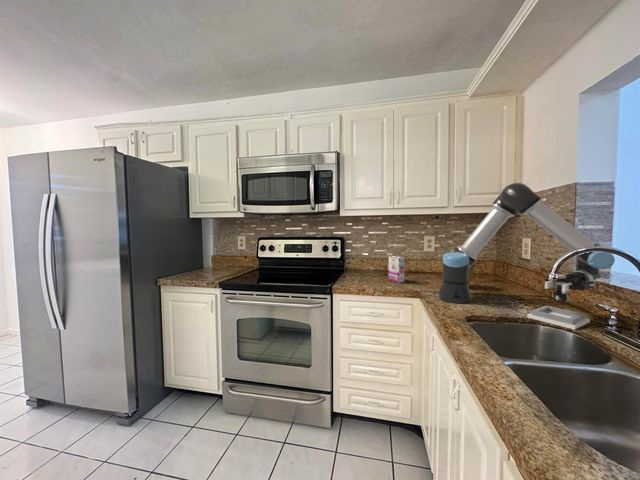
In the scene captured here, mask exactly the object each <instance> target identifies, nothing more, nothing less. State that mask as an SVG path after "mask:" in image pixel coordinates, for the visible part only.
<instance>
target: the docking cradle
mask: <svg viewBox="0 0 640 480" xmlns="http://www.w3.org/2000/svg"><path fill="white" fill-rule="evenodd" d="M526 317H527V318H528V319H531V320H536V321H539V322H544V323H548V324H551V325H555V326H559V327H563V328H567V329H571V330H577V329H579V328H581V327H583V326H585V325H587V324H589V323H590V322H591V319H590V318H587V314H586V313H583V312H582V313H581V312H577V311H574V310H573V311H572V310H568V309H562V308H558V307H554V306H550V305H544V306H541V307H539V308H535V309H532V310H531V312H530V313H527V316H526Z"/></svg>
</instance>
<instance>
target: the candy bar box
mask: <svg viewBox="0 0 640 480" xmlns="http://www.w3.org/2000/svg"><path fill="white" fill-rule="evenodd" d="M405 260H406V257H403V256H397V255H390V256H388V268H387V269H388V273H387V275H388V276H387V277H388V281H391V282H394V283H398V284H403V283H405V268H406V267H405V265H406V261H405Z"/></svg>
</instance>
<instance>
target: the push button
mask: <svg viewBox="0 0 640 480" xmlns="http://www.w3.org/2000/svg"><path fill="white" fill-rule="evenodd" d="M558 275H559V278H558V280H556V281H553V280H552V281H553V282H555V283H556V286H555V292H553V293H551V295H552V296H551V297H552V298H554V300H557V301H560V302H569V294H567V292H563V284H565V283H566V282H568V279H569V278H568V277H566V275H567V274H559V273H558Z"/></svg>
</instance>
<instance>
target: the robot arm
mask: <svg viewBox="0 0 640 480" xmlns="http://www.w3.org/2000/svg"><path fill="white" fill-rule="evenodd" d="M542 201H543V199H542V198H541V197H540V196H539V195H538V194H537V193H536V192H534V190H532V189H531V188H530V187H529V186H527V185H526V184H524V183H520V182H513V183H511V184H509V185H506V186H505V187H504V188H503V189H502V190H501V192H500V193H499V195H498V196H497V197H496V199H494V201H493V202H492V203H491V207H492V208H491V210H490V211H489V212H488V213H487V214H486V216H485V217H484V218H483V219H482V220H481V222H480V223H479V224H478V225H477V226H476V228H475V229H474V230H473V231H472V232H471V234H470V235H469V236H468V237H467V239H466V240H465V241H464V243H463V244H461V245H458V246H456V248H455V249H454V250H453V251H450V252H446V253H444V254H443V256H442V257H443V258H442V282H441V286H440V288H439V292H438V296H437V298H438V299H439V300H441V301H444V302H448V303H453V304H468V303H471V302H472V295H471V291H470V288H469V284H468V271H469V268H470V267H471V266H472V265H473V264H474V262H475V263H476V262H477V260H478V258H477V256H478V254H479V253H480V252H481V250H482V249H484V247H485V246H486V245H487V243H489V241H490V240H492V238H493V237H494V236H495V234H496V233H497V232H498V231H499V230H500V229H501V228H502V227H503V226H504V224H505V223H506V222H507V220H508V219H509V218H513V217H515V216H516V215H517V214H518V213H519V214H521V215H523V216H524V215H525V216H527V217H528V218H529V219H531V220H532V221H534V223H535V224H537V225H538V226H539V227H541V228H542V229H543V230H544V231H546V232H547V233H548V234H550V235H551V236H552V238H554V239H555V240H557V241H558V242H560V244H562V245H563V246H565V247H566V248H567V249H569V250H570V251H571V252H572V250H575V249H578V248H584V247H589V246H600V247H601V244H600V243H597V242H594V241H593V240H591V239H590V238H589V237H588V236H587V235H585V234H584V233H583V232H582V231H580V230H579V229H577V228H576V227H575V226H573V225H572V224H571V223H569V221H567V220H566V219H564V218H563V217H562V216H561V215H559V214H558V213H557V212H555V211H554V210H552V208H550V207H549V206H547V205H546V204H545V203H544V202H542ZM609 253H610V252H609ZM609 253H603V252H589V253H584V254H581V255H578V256H577V255H576V258H575V259H576V260H575V261H576V262H575V271H571V272H568V273H566V274H565V275H566V277H568V278H569V279H568V282H566V283H565V284H563V292H566V293H568V292H569V291H581V292H583V291H586V290H589V289H594V286H595V285H594V282H593V281H594V280H595V279H597V278H600V277H602V278H603V276H602V274H601V272H600V270H606V269H610V268H611V267H613V266H614V264H615V262H616V260H615V256H614V255H613V253H611V254H609ZM548 278H549V277H546V278H544V289H545V290H549V289H553V288H555V287H556V283H555V282H553V281H552V280H548Z"/></svg>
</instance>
